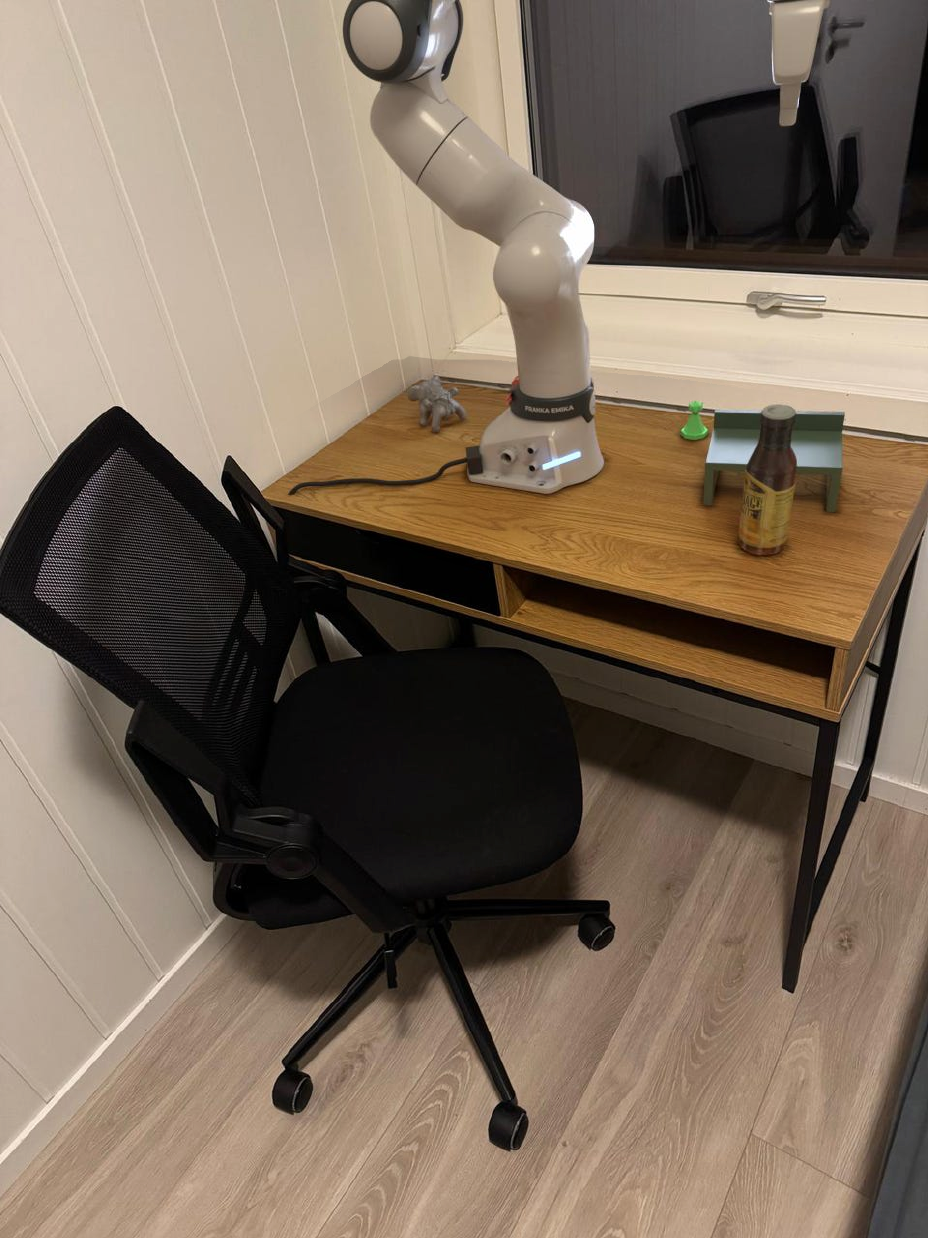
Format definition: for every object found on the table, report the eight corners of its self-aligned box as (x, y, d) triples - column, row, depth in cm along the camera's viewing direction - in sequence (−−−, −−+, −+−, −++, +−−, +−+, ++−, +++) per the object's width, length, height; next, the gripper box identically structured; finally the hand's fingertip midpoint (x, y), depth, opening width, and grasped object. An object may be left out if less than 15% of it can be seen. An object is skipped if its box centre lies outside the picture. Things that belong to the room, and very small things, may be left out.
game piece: (694, 426, 146) (695, 392, 142) (713, 433, 143) (714, 400, 139) (675, 434, 144) (676, 401, 141) (694, 442, 141) (695, 408, 138)
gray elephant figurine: (446, 437, 155) (439, 397, 150) (394, 427, 161) (386, 389, 156) (473, 416, 160) (468, 376, 156) (422, 407, 167) (416, 370, 162)
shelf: (703, 505, 125) (706, 445, 120) (711, 466, 134) (715, 409, 128) (835, 512, 120) (845, 450, 114) (835, 471, 128) (844, 411, 123)
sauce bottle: (731, 537, 118) (741, 402, 106) (776, 530, 118) (791, 394, 106) (747, 563, 113) (760, 424, 101) (794, 555, 113) (813, 416, 101)
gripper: (775, -28, 102) (765, 105, 110) (767, -18, 87) (755, 135, 95) (832, -36, 100) (817, 100, 108) (833, -27, 85) (816, 130, 93)
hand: (788, 117), depth 102 cm, fingers open, 8 cm apart
